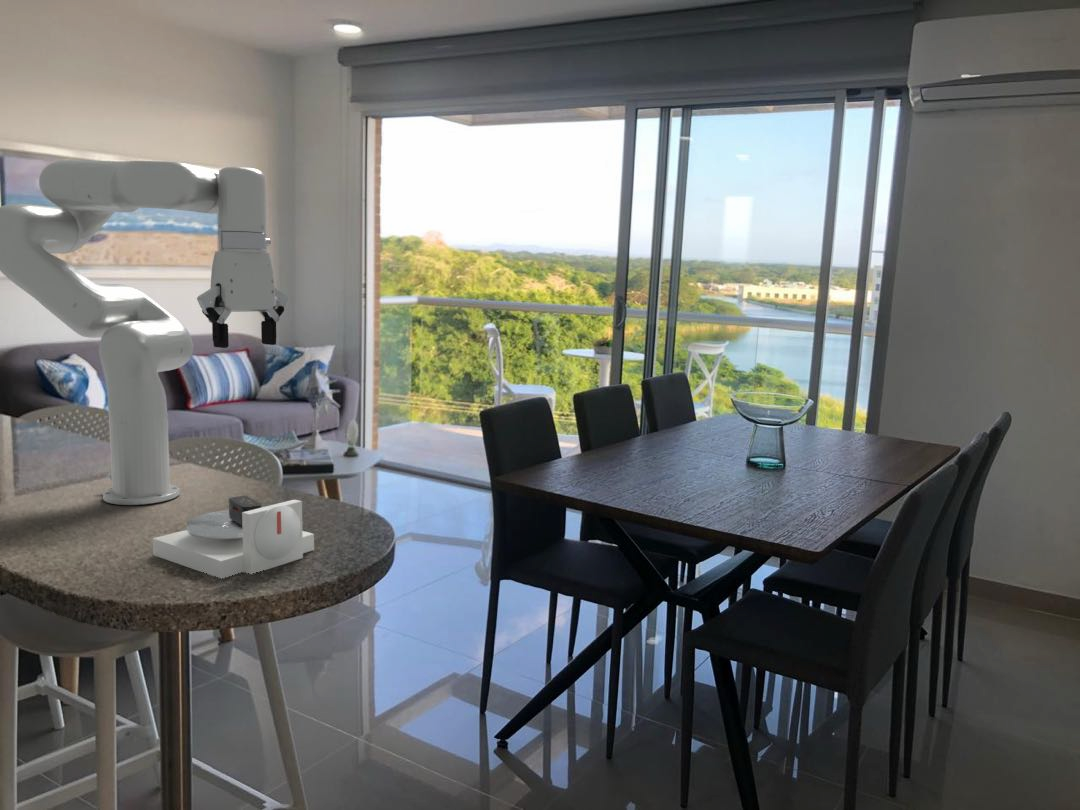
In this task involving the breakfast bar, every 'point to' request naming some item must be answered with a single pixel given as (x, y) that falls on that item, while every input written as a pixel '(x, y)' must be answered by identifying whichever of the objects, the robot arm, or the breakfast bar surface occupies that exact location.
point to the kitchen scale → (239, 541)
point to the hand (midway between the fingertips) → (245, 345)
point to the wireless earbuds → (241, 507)
